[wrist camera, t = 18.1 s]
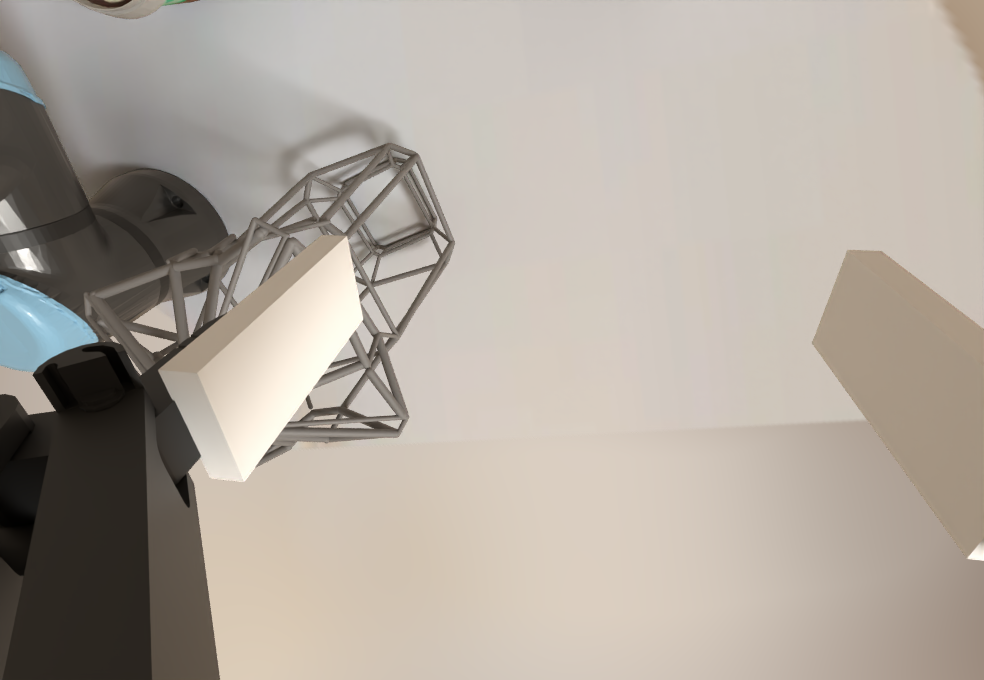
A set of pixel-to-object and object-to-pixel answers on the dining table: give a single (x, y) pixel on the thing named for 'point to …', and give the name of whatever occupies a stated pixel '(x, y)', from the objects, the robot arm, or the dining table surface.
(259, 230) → the geometric lantern
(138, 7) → the food container
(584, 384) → the dining table surface
